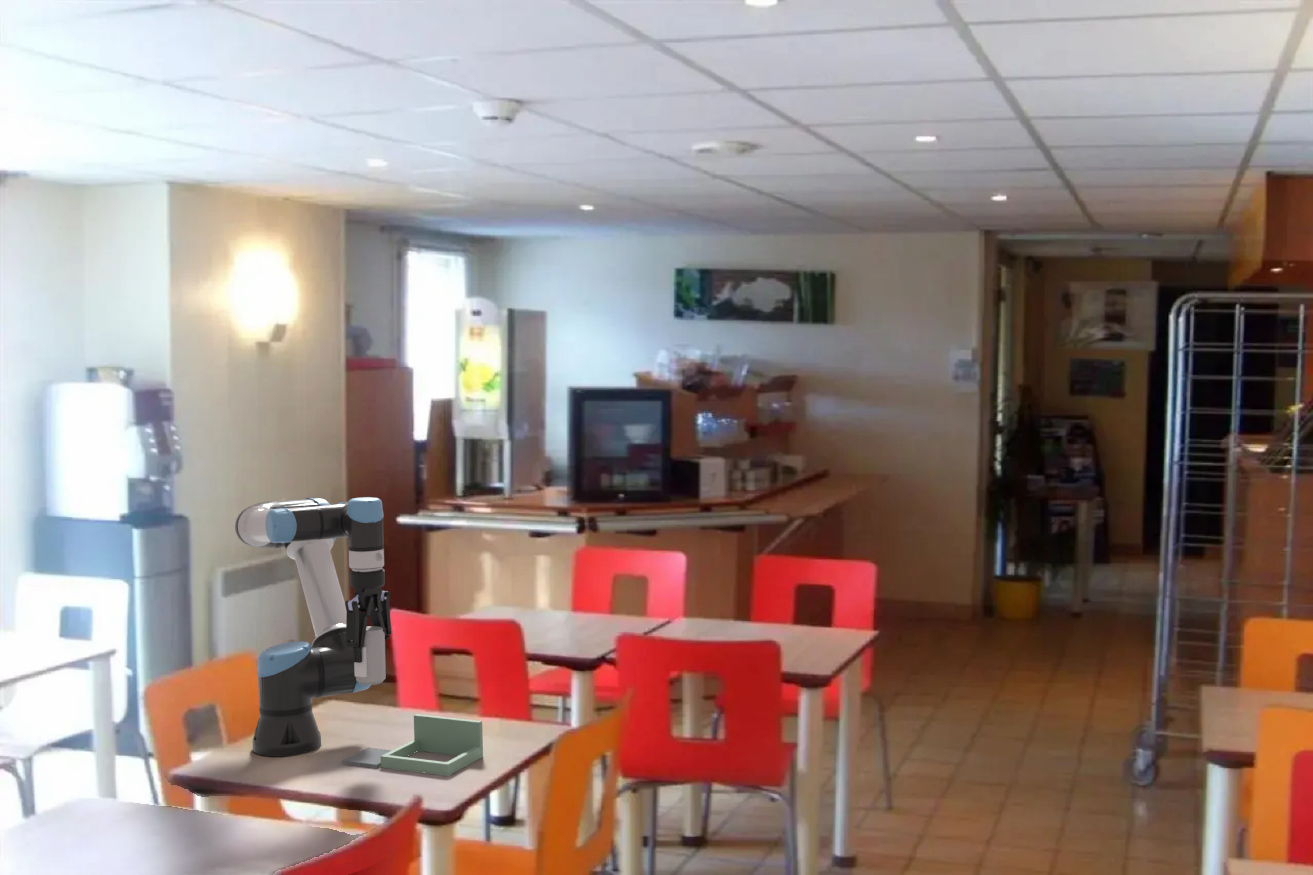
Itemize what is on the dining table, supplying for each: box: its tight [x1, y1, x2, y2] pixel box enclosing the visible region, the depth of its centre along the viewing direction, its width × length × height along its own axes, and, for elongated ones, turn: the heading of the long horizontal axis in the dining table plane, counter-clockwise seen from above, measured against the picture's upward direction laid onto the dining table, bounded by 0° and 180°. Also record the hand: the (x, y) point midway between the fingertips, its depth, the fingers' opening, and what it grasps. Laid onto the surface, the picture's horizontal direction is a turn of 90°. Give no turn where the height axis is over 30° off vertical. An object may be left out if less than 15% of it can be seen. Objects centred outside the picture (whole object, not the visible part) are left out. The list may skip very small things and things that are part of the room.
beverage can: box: [356, 625, 387, 686], centre depth 296 cm, size 6×6×12 cm
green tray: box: [380, 713, 484, 777], centre depth 295 cm, size 17×14×8 cm
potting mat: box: [341, 747, 393, 769], centre depth 298 cm, size 9×10×1 cm
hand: (370, 672), depth 296 cm, fingers closed on beverage can, 6 cm apart
